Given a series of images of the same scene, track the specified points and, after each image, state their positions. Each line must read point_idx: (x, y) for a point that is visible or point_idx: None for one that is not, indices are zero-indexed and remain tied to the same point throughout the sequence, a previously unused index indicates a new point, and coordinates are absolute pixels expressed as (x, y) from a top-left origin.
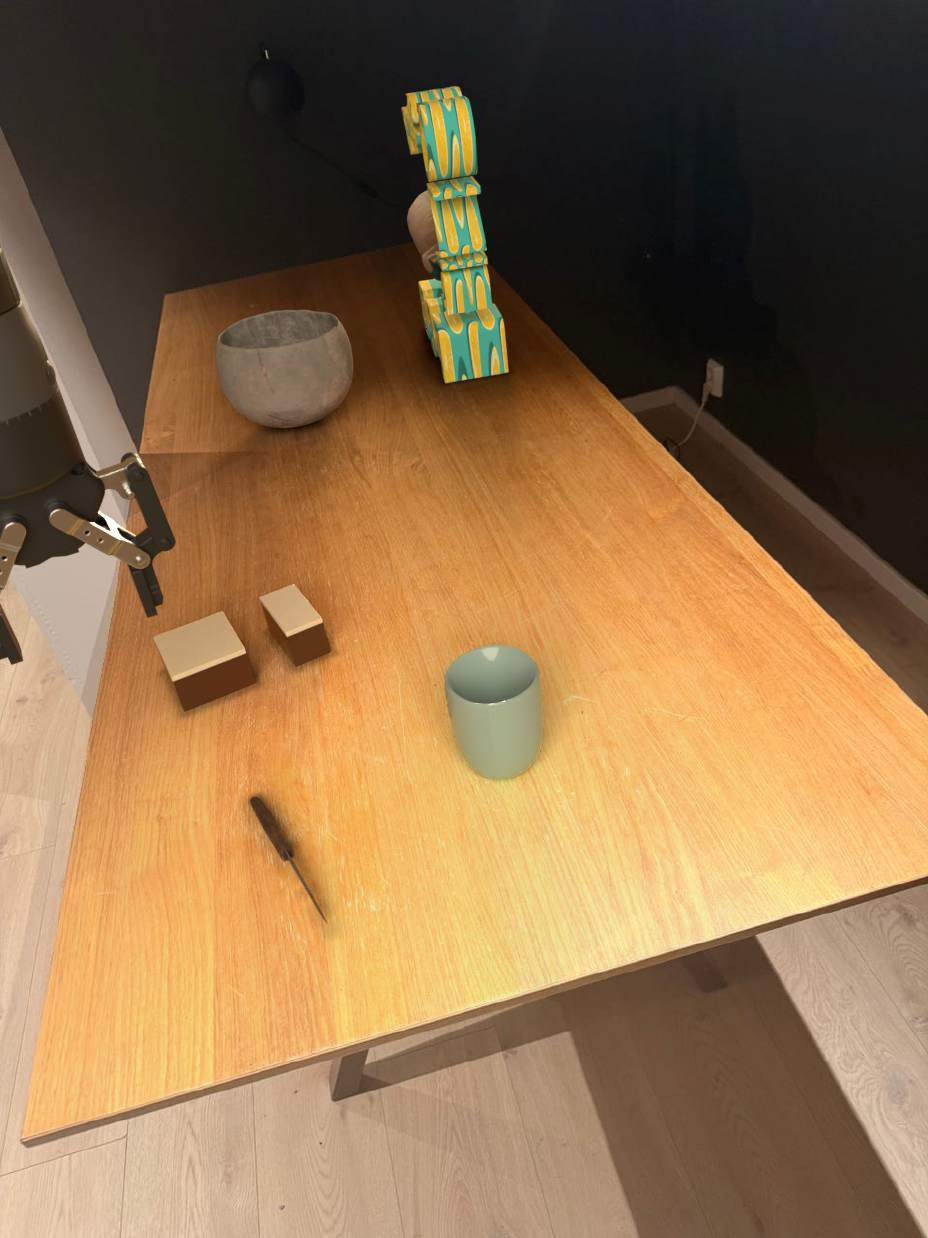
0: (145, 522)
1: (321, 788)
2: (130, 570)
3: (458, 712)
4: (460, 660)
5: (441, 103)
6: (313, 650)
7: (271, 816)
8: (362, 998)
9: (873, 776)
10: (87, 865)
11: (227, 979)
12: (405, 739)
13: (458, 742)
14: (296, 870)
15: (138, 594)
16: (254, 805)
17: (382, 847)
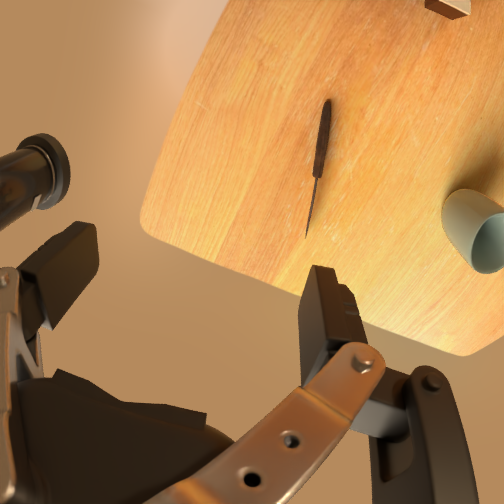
0: (416, 403)
1: (371, 130)
2: (305, 384)
3: (463, 238)
4: (499, 214)
5: None
6: (444, 13)
7: (327, 137)
8: (293, 277)
9: (500, 327)
10: (198, 72)
11: (241, 221)
12: (438, 141)
13: (450, 215)
14: (313, 197)
15: (309, 305)
16: (323, 117)
17: (366, 206)
